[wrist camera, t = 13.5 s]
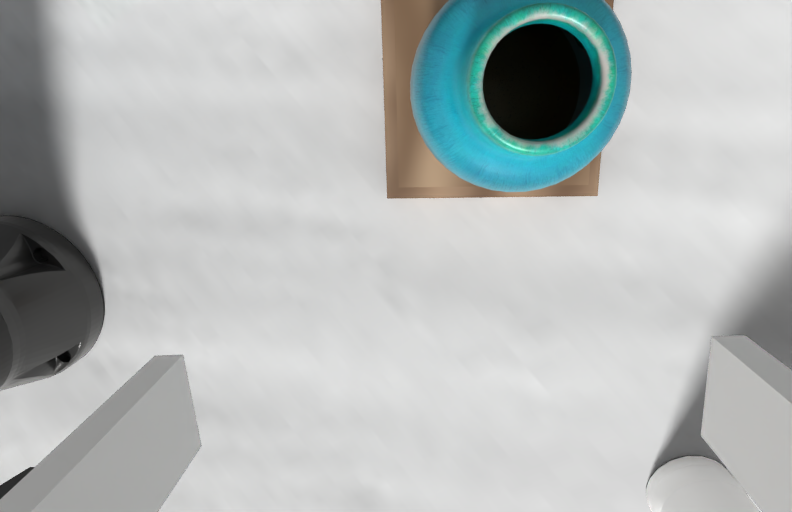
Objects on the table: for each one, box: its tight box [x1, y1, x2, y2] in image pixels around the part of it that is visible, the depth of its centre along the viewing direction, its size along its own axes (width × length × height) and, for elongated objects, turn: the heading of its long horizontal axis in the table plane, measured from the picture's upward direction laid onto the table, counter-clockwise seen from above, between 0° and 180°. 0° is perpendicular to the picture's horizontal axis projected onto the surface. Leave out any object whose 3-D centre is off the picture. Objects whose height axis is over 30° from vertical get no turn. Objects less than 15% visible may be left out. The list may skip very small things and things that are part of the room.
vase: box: [410, 0, 632, 192], centre depth 28 cm, size 11×11×19 cm
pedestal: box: [381, 0, 614, 198], centre depth 39 cm, size 16×16×3 cm
